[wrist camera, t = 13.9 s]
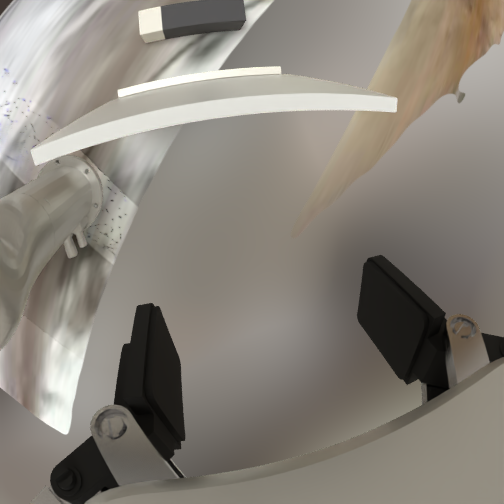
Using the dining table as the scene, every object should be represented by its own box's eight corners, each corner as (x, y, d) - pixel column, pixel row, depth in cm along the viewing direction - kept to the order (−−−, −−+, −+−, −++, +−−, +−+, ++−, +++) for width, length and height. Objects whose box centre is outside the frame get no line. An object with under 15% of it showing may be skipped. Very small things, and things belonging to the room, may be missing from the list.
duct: (265, 80, 38) (281, 73, 31) (131, 100, 35) (118, 97, 28) (251, -30, 28) (263, -52, 21) (122, -14, 25) (112, -34, 18)
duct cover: (288, 74, 31) (289, 81, 31) (111, 100, 28) (112, 108, 28) (397, 98, 14) (396, 112, 15) (30, 150, 12) (35, 165, 12)
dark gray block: (239, 29, 33) (246, 20, 29) (145, 43, 31) (140, 35, 27) (237, 8, 31) (242, -3, 27) (143, 21, 29) (138, 11, 25)
